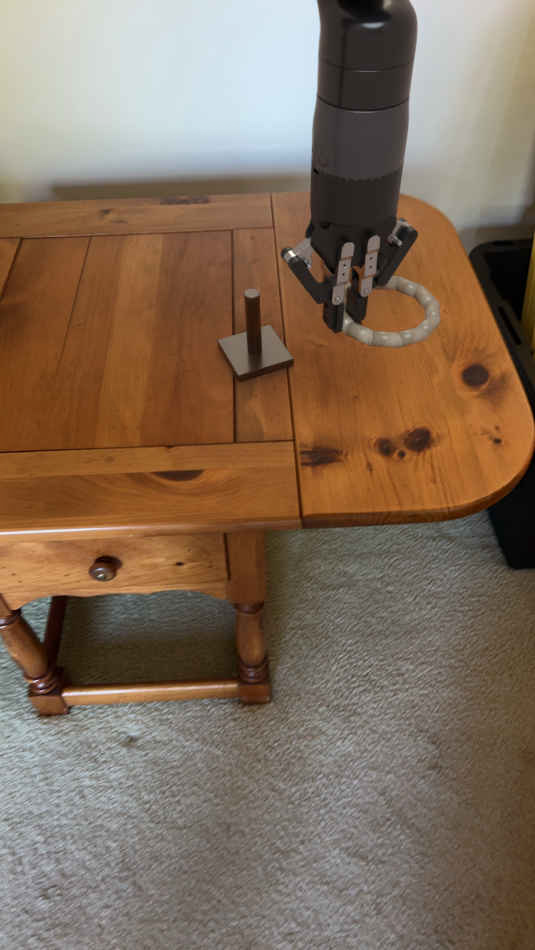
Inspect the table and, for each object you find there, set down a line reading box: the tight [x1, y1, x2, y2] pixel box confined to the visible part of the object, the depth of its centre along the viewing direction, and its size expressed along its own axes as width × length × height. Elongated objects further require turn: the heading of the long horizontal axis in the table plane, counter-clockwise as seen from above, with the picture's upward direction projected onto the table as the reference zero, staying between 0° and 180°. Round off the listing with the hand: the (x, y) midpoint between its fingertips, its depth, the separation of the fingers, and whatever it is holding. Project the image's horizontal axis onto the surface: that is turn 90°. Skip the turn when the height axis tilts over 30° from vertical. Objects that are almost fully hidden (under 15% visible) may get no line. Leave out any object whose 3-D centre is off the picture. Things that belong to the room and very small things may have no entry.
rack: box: [216, 288, 295, 383], centre depth 86 cm, size 8×8×10 cm
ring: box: [341, 275, 441, 349], centre depth 67 cm, size 11×11×2 cm
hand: (343, 325), depth 67 cm, fingers closed on ring, 1 cm apart
